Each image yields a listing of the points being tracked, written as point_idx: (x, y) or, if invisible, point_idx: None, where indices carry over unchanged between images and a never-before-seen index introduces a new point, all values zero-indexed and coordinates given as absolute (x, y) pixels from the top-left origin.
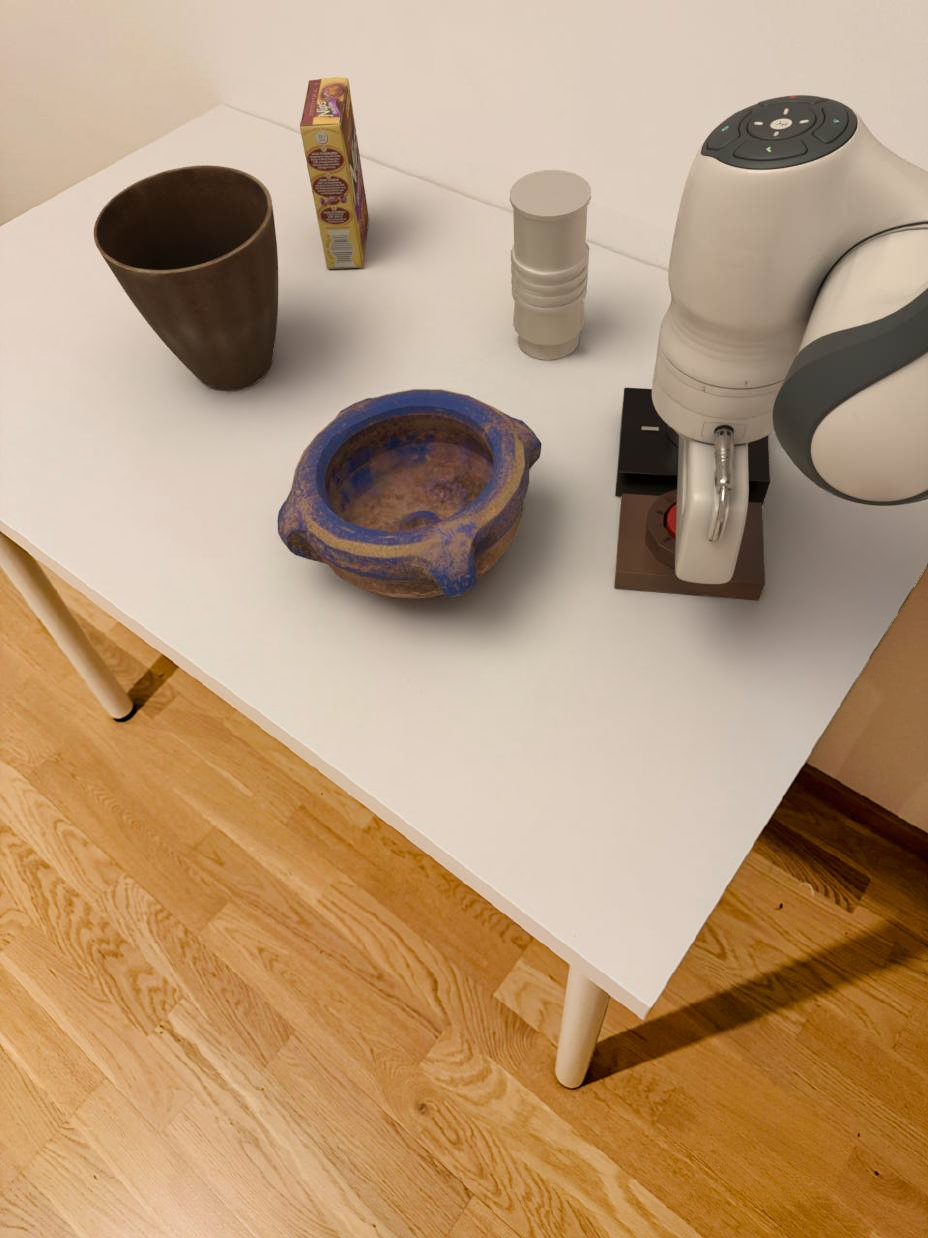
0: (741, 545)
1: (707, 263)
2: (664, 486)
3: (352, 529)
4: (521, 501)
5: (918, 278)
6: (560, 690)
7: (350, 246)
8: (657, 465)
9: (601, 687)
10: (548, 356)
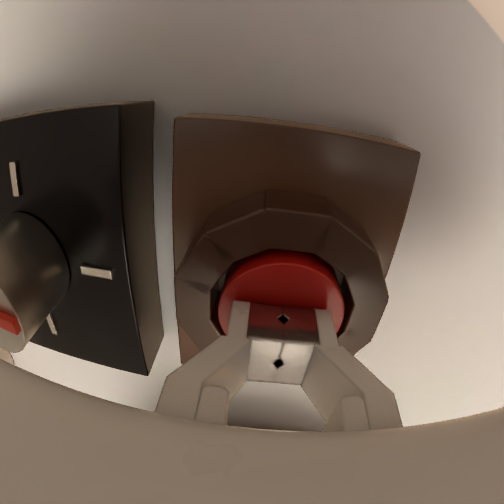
0: (313, 182)
1: None
2: (147, 299)
3: None
4: None
5: None
6: (444, 380)
7: None
8: (118, 328)
9: (457, 352)
10: (6, 354)
